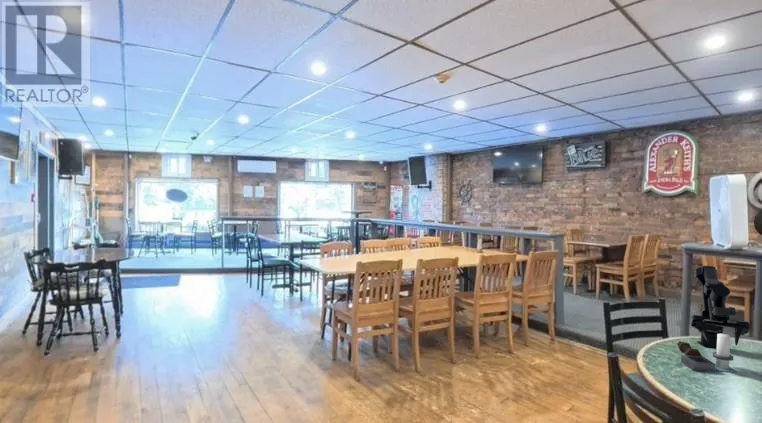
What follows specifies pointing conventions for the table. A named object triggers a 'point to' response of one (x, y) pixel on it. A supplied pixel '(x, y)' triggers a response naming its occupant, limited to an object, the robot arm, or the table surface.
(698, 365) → the block
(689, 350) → the bolt
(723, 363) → the pin
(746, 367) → the table surface
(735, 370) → the mat
